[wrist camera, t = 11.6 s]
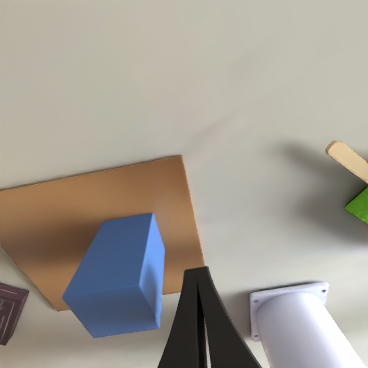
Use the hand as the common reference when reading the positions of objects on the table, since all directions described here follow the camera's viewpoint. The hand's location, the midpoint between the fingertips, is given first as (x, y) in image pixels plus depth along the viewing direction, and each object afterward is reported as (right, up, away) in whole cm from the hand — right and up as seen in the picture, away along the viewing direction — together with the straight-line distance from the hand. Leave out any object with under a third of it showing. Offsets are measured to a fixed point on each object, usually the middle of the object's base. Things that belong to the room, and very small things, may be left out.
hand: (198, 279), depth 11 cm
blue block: (-5, +1, +4) cm, 7 cm away
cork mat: (-8, 0, +5) cm, 9 cm away
